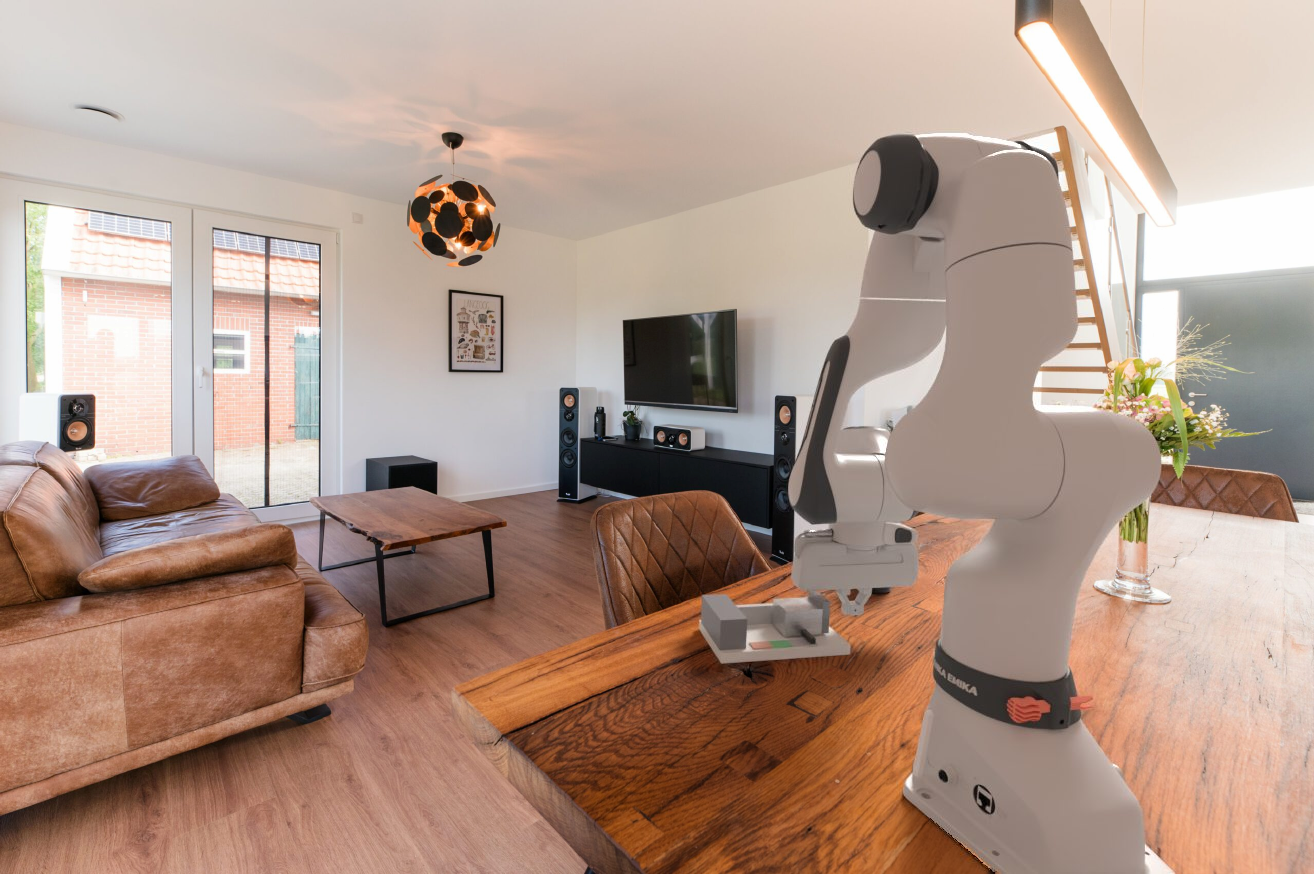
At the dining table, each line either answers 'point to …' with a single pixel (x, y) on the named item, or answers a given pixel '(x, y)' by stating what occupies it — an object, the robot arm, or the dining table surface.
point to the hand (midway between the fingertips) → (852, 613)
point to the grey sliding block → (802, 616)
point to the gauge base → (757, 634)
